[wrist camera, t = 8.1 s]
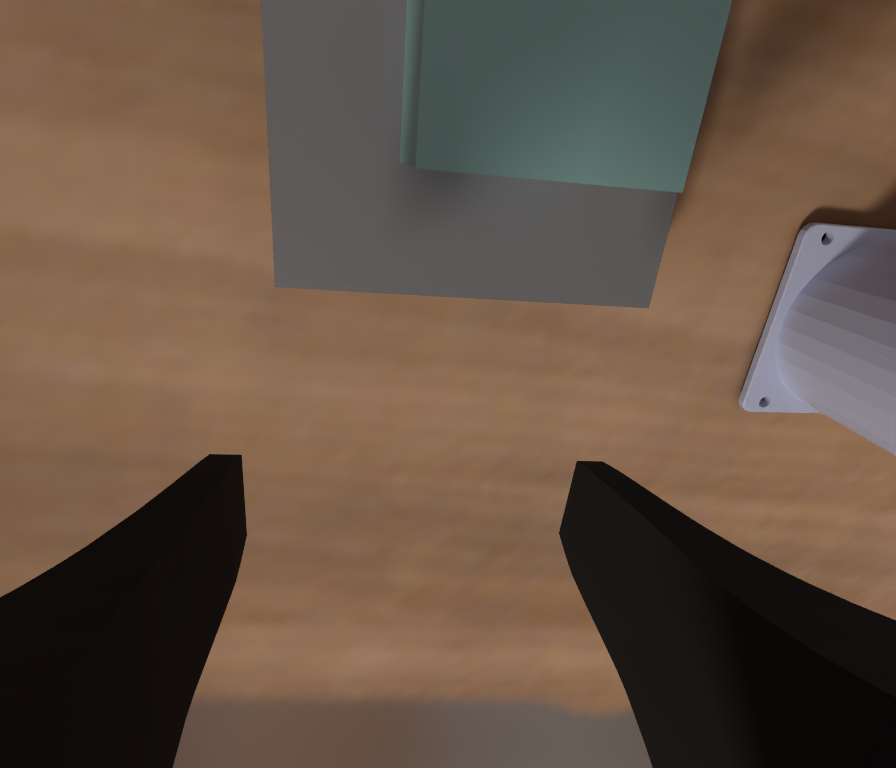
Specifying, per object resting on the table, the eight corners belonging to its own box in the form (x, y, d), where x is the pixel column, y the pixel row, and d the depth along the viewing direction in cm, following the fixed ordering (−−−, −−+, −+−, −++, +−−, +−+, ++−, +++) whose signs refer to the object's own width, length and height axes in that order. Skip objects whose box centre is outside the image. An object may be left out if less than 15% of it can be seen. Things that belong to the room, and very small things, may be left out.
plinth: (701, -120, 15) (775, -181, 12) (610, 286, 20) (648, 308, 17) (273, -207, 13) (246, -303, 10) (290, 266, 18) (275, 287, 15)
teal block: (606, -35, 13) (776, -171, 7) (570, 178, 15) (682, 192, 9) (409, -66, 12) (438, -244, 7) (399, 162, 14) (415, 168, 9)
